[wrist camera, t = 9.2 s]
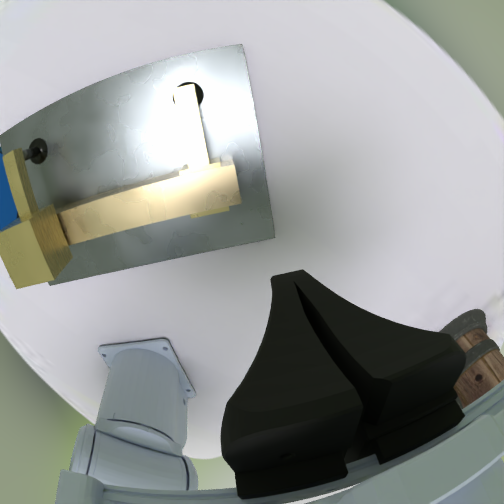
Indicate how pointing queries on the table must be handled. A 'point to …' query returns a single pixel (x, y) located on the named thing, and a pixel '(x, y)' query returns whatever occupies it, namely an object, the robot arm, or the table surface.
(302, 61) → the table surface
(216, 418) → the table surface
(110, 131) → the base
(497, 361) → the tankard
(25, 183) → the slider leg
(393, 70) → the table surface
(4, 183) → the smartphone
